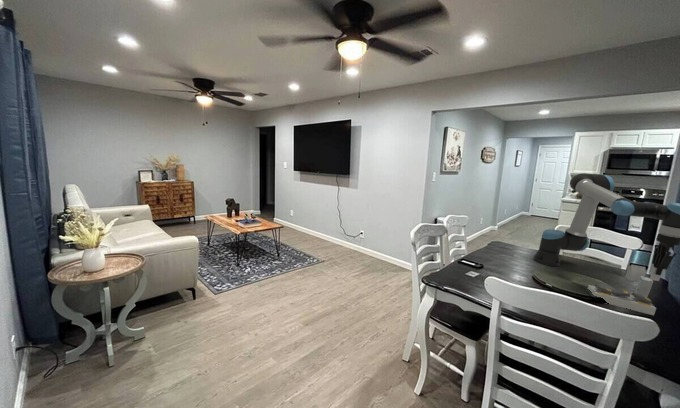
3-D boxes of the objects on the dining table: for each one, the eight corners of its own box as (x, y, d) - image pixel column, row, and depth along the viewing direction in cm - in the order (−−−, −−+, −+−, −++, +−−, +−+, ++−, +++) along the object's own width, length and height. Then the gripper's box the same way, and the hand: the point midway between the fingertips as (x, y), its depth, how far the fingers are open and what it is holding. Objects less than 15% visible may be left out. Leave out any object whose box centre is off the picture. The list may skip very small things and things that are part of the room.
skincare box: (632, 294, 153) (639, 275, 151) (644, 298, 150) (651, 278, 148) (634, 299, 149) (641, 278, 146) (646, 302, 146) (653, 282, 143)
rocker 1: (596, 288, 145) (598, 286, 145) (594, 285, 149) (596, 283, 148) (610, 294, 143) (612, 292, 142) (607, 291, 146) (609, 288, 146)
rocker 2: (613, 294, 142) (614, 292, 142) (611, 291, 146) (611, 288, 145) (629, 296, 139) (630, 293, 139) (626, 293, 143) (626, 290, 142)
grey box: (642, 282, 170) (647, 268, 168) (628, 280, 173) (632, 265, 171) (638, 280, 174) (643, 266, 172) (624, 277, 176) (629, 263, 174)
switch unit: (592, 299, 144) (595, 292, 143) (586, 291, 153) (588, 284, 153) (653, 315, 133) (656, 307, 132) (643, 305, 143) (645, 297, 142)
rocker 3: (635, 297, 138) (637, 295, 138) (631, 294, 142) (633, 291, 141) (650, 304, 136) (652, 301, 135) (646, 300, 139) (648, 297, 139)
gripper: (690, 240, 123) (672, 287, 128) (673, 233, 134) (657, 277, 139) (666, 236, 127) (650, 282, 132) (652, 230, 138) (637, 272, 143)
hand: (654, 279), depth 135 cm, fingers closed
